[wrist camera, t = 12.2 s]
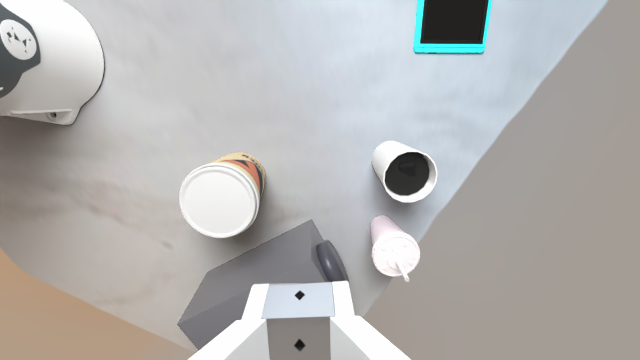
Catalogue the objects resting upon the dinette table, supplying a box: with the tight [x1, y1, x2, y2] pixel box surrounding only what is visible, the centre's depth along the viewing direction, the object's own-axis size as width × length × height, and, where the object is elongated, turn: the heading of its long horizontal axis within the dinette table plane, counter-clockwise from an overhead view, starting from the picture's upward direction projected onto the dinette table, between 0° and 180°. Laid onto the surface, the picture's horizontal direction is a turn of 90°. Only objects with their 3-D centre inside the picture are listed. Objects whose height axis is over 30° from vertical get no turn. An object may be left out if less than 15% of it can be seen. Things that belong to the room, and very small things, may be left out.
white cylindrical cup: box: [372, 141, 438, 202], centre depth 42 cm, size 7×7×10 cm
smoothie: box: [370, 215, 420, 282], centre depth 43 cm, size 6×6×14 cm
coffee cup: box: [179, 152, 266, 238], centre depth 41 cm, size 9×9×12 cm
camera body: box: [177, 220, 349, 350], centre depth 46 cm, size 22×10×12 cm, turn 118°
